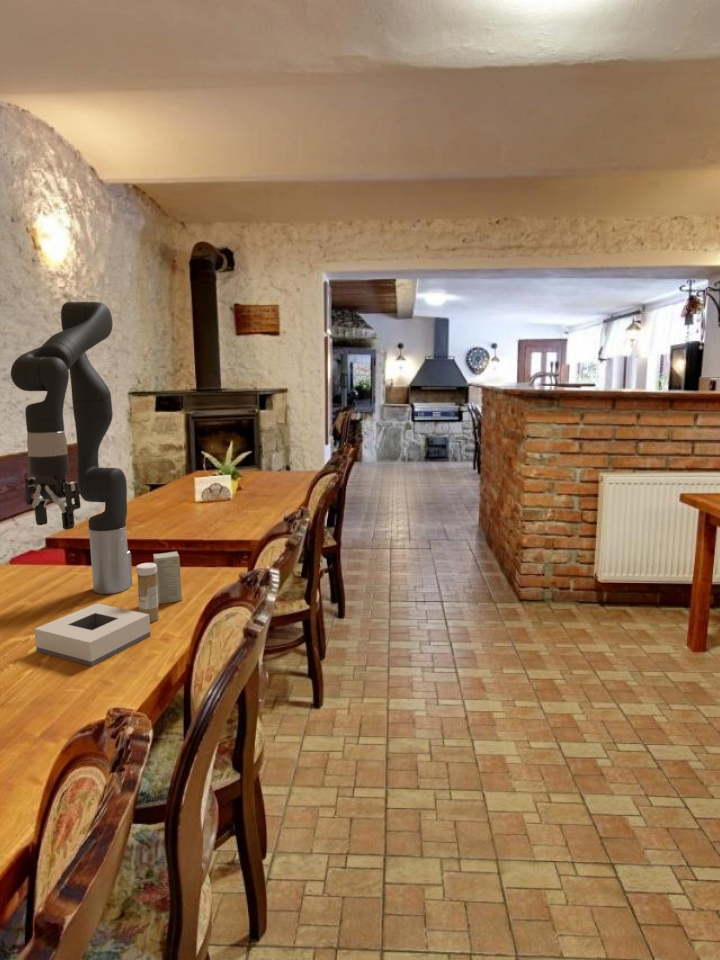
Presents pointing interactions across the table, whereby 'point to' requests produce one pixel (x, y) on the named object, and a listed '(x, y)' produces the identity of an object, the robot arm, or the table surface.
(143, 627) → the socket block
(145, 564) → the sprinkles bottle
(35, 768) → the table surface
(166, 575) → the skincare box
